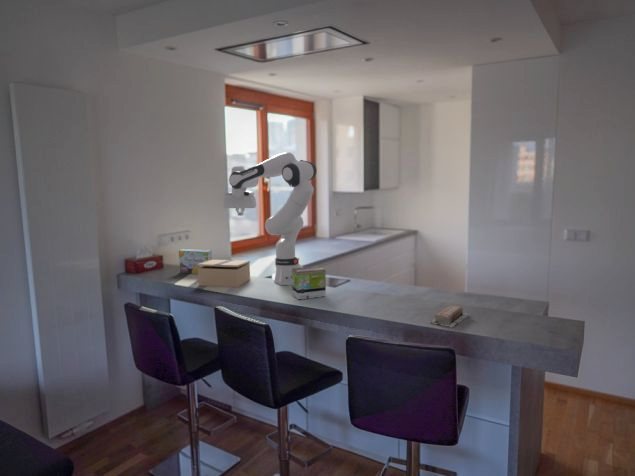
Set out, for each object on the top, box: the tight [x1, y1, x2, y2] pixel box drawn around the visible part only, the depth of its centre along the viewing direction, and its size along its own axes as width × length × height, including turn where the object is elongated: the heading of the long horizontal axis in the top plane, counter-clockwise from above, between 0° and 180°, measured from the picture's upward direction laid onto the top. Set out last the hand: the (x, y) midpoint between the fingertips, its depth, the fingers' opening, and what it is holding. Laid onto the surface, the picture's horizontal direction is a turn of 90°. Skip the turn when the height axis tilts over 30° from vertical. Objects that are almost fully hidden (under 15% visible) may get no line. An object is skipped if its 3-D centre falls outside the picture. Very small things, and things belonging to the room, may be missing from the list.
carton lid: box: [198, 259, 251, 267], centre depth 272 cm, size 24×19×1 cm
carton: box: [197, 263, 251, 288], centre depth 273 cm, size 24×18×10 cm
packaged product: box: [430, 305, 469, 327], centre depth 201 cm, size 18×5×10 cm
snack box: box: [178, 248, 213, 275], centre depth 299 cm, size 21×6×15 cm, turn 73°
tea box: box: [291, 265, 327, 300], centre depth 240 cm, size 15×10×15 cm
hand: (240, 215), depth 286 cm, fingers closed
